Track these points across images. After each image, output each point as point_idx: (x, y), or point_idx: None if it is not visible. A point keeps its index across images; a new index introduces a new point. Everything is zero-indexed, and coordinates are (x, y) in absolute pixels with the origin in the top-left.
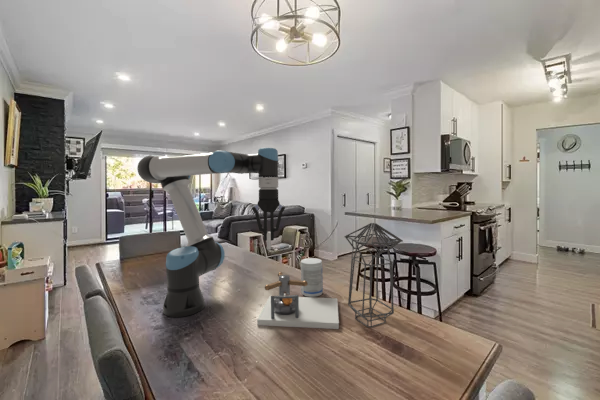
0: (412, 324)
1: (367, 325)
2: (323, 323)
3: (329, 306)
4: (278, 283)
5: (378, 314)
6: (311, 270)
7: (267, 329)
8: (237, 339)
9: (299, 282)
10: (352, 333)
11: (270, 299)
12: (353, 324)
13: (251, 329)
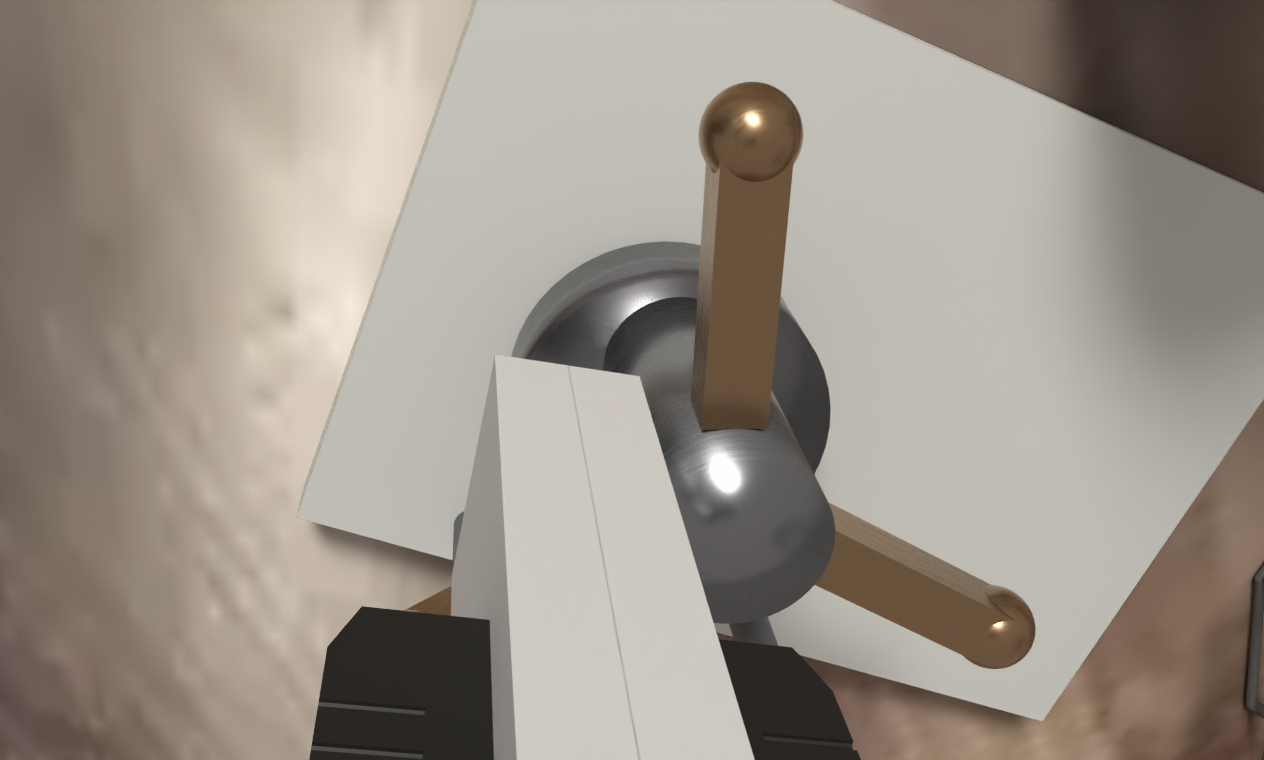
0: None
1: (1256, 710)
2: (923, 682)
3: (1156, 417)
4: None
5: None
6: None
7: (404, 574)
8: (112, 668)
9: (921, 631)
10: (1081, 752)
11: (518, 16)
12: (1176, 646)
13: (241, 544)
